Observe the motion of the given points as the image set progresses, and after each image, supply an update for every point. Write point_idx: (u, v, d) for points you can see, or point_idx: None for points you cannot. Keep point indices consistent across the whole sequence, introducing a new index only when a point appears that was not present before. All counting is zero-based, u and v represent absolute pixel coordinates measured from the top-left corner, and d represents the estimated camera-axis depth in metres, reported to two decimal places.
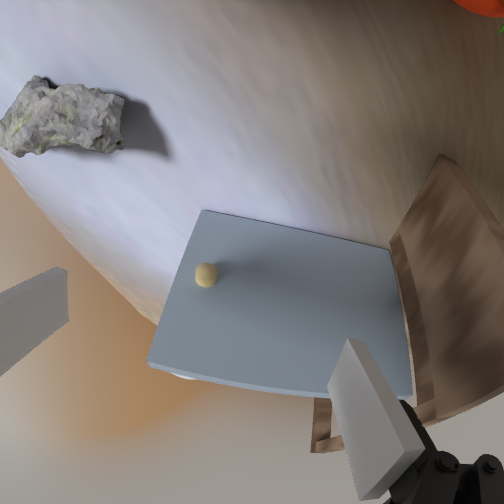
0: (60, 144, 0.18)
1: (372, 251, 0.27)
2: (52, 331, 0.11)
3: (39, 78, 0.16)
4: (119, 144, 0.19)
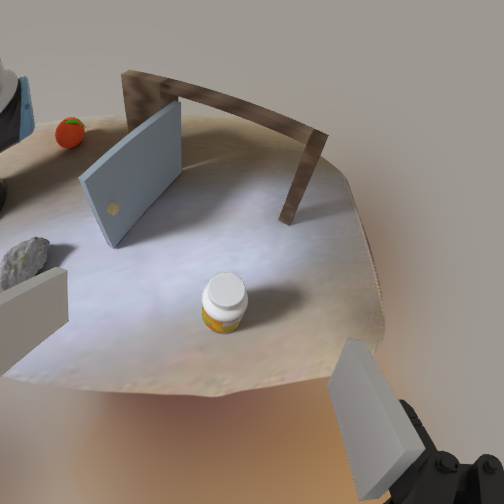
0: (22, 263, 0.32)
1: None
2: (53, 331, 0.11)
3: None
4: (46, 240, 0.36)
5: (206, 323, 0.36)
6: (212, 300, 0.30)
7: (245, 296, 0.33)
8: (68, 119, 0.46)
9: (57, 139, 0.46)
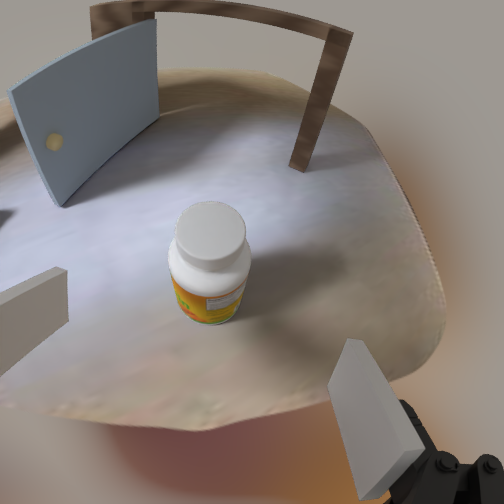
0: None
1: None
2: (52, 331, 0.11)
3: None
4: None
5: (181, 306, 0.21)
6: (182, 250, 0.15)
7: (246, 249, 0.18)
8: None
9: None
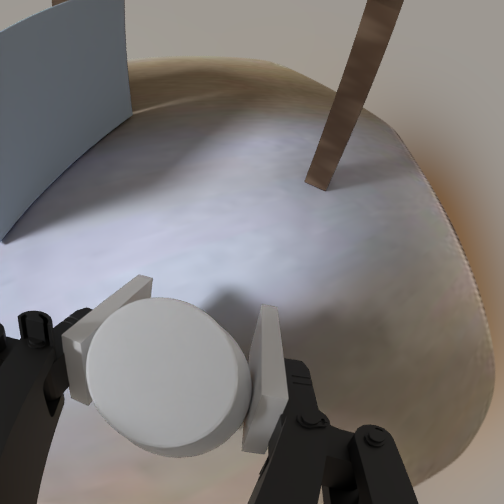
0: None
1: None
2: None
3: None
4: None
5: None
6: None
7: (242, 379, 0.08)
8: None
9: None
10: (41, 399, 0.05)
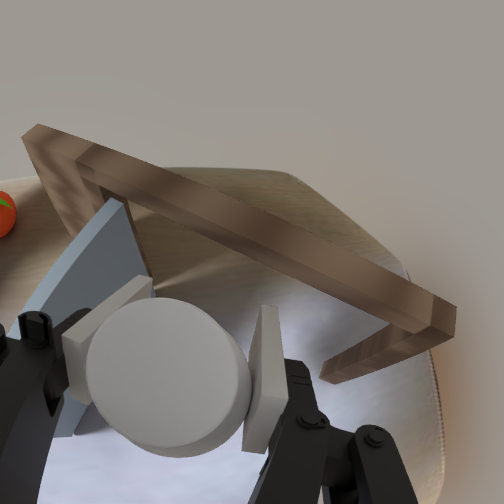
0: None
1: None
2: None
3: None
4: None
5: None
6: None
7: (242, 379, 0.08)
8: None
9: None
10: (41, 399, 0.05)
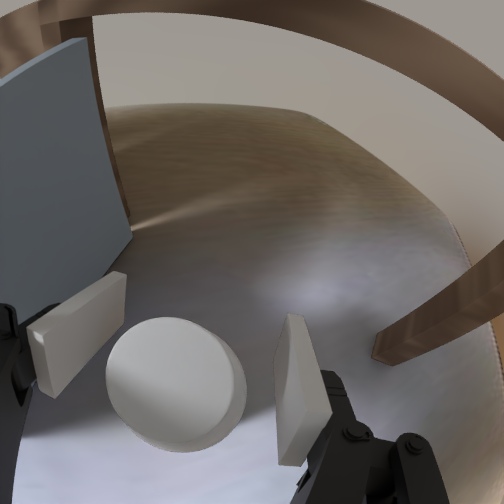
0: None
1: None
2: (111, 334, 0.12)
3: None
4: None
5: None
6: None
7: (238, 384, 0.10)
8: None
9: None
10: (9, 388, 0.05)
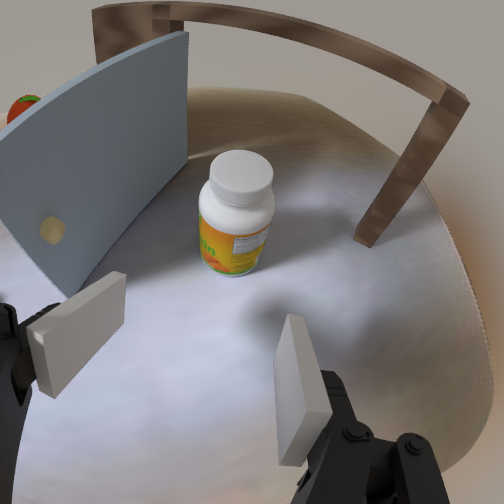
0: None
1: None
2: (111, 334, 0.12)
3: None
4: None
5: (206, 255, 0.23)
6: (217, 185, 0.17)
7: (271, 194, 0.20)
8: (24, 97, 0.26)
9: None
10: (9, 388, 0.05)
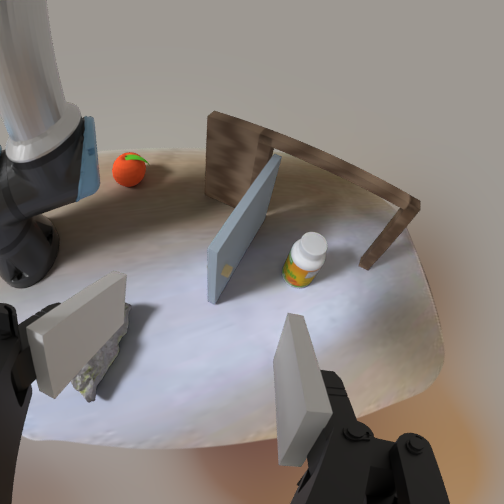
0: None
1: None
2: (111, 334, 0.12)
3: None
4: (127, 304, 0.38)
5: (289, 278, 0.45)
6: (305, 251, 0.40)
7: None
8: (128, 155, 0.49)
9: (117, 177, 0.49)
10: (9, 388, 0.05)
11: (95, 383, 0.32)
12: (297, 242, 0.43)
